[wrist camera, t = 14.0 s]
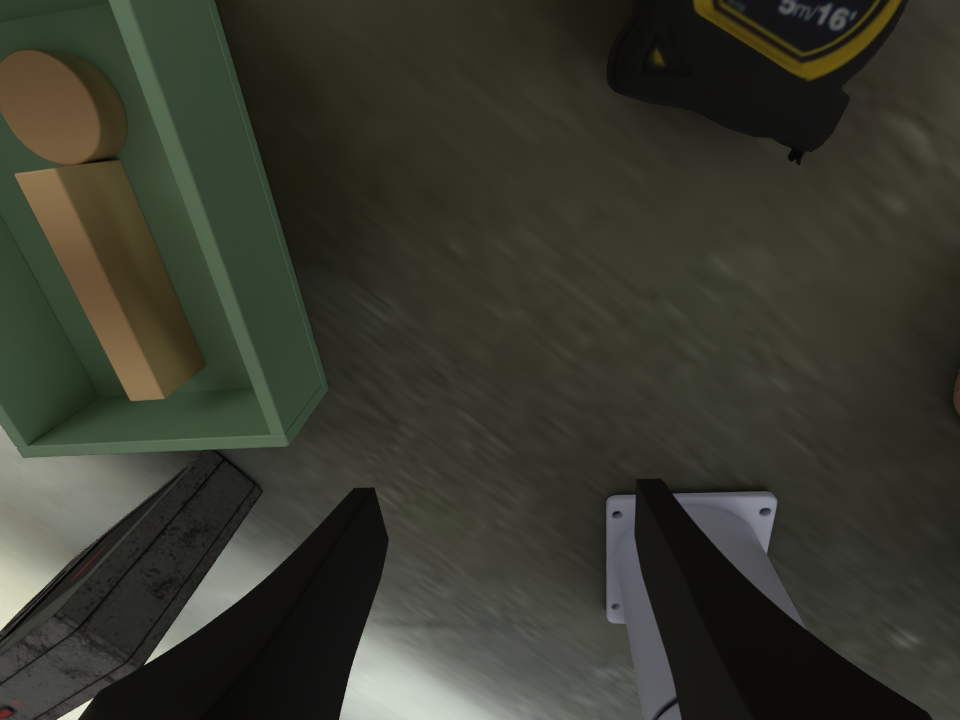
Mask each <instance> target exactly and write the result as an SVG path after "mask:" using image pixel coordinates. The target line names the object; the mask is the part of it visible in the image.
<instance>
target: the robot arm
mask: <svg viewBox="0 0 960 720" xmlns="http://www.w3.org/2000/svg"><path fill="white" fill-rule="evenodd" d="M776 507H777V499H776V498H775V496H774V495H773V493H771V492H768V491H751V492H714V493H677V494H672V492H671V491H670V490H669V488H668V487H667V485H666V484H665V483H664V482H663V481H662V480H661V479H636V495H614V496H611V497H609V498H608V499H607V502H606V614H607V619H608V620H609V621H610V622H612V623H626V627H627V632H628V637H629V643H630V648H631V653H632V659H633V664H634V669H635V675H636V680H637V685H638V691H639V696H640V701H641V707H642V712H643V717H644V720H933V719H932V718H931V716H930V715H929V714H928V712H926V711H925V710H923V709H921V708H920V707H918V706H917V705H915V704H913V703H912V702H910V701H909V700H907V699H906V698H904V697H902V696H901V695H899V694H898V693H896V692H894V691H893V690H891V689H890V688H888V687H887V686H885V685H883V684H882V683H880V682H879V681H877V680H875V679H874V678H872V677H871V676H869V675H868V674H866V673H865V672H863V671H862V670H860V669H859V668H858V667H856V666H855V665H853V664H852V663H850V662H849V661H848V660H846V659H845V658H843V657H842V656H840V655H839V654H838V653H836V652H835V651H833V650H832V649H831V648H829V647H828V646H827V645H826V644H824V643H823V642H822V641H820V640H819V639H818V638H816V637H815V636H814V635H813V634H811V633H810V632H809V631H807V630H806V628H805V626H804V624H803V622H802V620H801V619H800V617H799V615H798V613H797V611H796V609H795V607H794V605H793V603H792V602H791V600H790V598H789V596H788V594H787V592H786V590H785V588H784V586H783V585H782V583H781V581H780V579H779V577H778V575H777V573H776V571H775V569H774V568H773V566H772V564H771V562H770V560H769V558H768V556H767V551H768V546H769V541H770V536H771V531H772V526H773V521H774V517H775V512H776ZM763 508H765V509H764V510H761V509H763ZM616 511H620V512H619V513H614V512H616ZM388 541H389V539H388V535H387V532H386V528H385V525H384V521H383V517H382V514H381V510H380V506H379V503H378V499H377V495H376V492H375V488H354V489H353V490H352V491H351V492H350V493H349V494H348V495H347V496H346V497H345V498H344V499H343V500H342V501H341V502H340V503H339V505H338V506H337V507H336V508H335V509H334V510H333V511H332V512H331V513H330V514H329V515H328V517H327V518H326V519H325V520H324V521H323V522H322V523H321V524H320V525H319V526H318V527H317V528H316V529H315V530H314V531H313V533H312V534H311V535H310V536H309V537H308V538H307V539H306V540H305V541H304V542H303V543H302V544H301V545H300V546H299V547H298V548H297V549H296V550H295V551H294V552H293V553H292V554H291V555H290V556H289V557H288V558H287V559H286V560H285V561H284V562H283V563H282V564H280V565H279V566H278V567H277V568H276V569H275V570H274V571H273V572H272V573H271V574H270V575H269V576H268V577H266V578H265V579H264V580H263V581H262V582H261V583H260V584H258V585H257V586H256V587H255V588H254V589H252V590H251V591H250V592H249V593H248V594H246V595H245V596H244V597H243V598H242V599H240V600H239V601H238V602H237V603H235V604H234V605H233V606H231V607H230V608H229V609H227V610H226V611H225V612H223V613H222V614H220V615H219V616H218V617H216V618H215V619H214V620H212V621H211V622H210V623H208V624H207V625H206V626H204V627H203V628H202V629H200V630H199V631H197V632H196V633H194V634H193V635H191V636H190V637H188V638H187V639H185V640H184V641H182V642H181V643H179V644H178V645H176V646H175V647H173V648H171V649H170V650H168V651H167V652H165V653H164V654H162V655H160V656H159V657H157V658H156V659H154V660H152V661H151V662H149V663H147V664H146V665H144V666H142V667H140V668H139V669H137V670H135V671H133V672H132V673H130V674H128V675H126V676H125V677H123V678H121V679H119V680H118V681H116V682H114V683H112V684H111V685H109V686H107V687H105V688H103V689H101V690H100V691H99V692H98V693H97V695H96V696H95V697H94V698H93V700H92V701H91V703H90V704H89V705H88V707H87V708H86V709H85V711H84V712H83V713H82V715H81V716H80V718H79V719H78V720H339V717H340V712H341V708H342V704H343V700H344V695H345V691H346V687H347V683H348V678H349V674H350V670H351V667H352V664H353V660H354V657H355V653H356V651H357V648H358V645H359V642H360V639H361V636H362V633H363V630H364V627H365V624H366V621H367V618H368V615H369V612H370V609H371V606H372V603H373V600H374V597H375V594H376V591H377V588H378V585H379V582H380V579H381V576H382V571H383V567H384V562H385V557H386V552H387V546H388Z"/></svg>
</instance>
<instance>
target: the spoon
mask: <svg viewBox="0 0 960 720" xmlns="http://www.w3.org/2000/svg"><path fill="white" fill-rule="evenodd" d="M0 110H1V112H2V115H3V117H4V119H5V120H6V122H7V124H8V125H9V127H10V128H11V130H12V131H13V133H14V134H15V135H16V136H17V138H18V139H19V140H20V141H21V142H22V143H23V144H24V145H25V146H26V147H28V148H29V149H30V150H31V151H33V152H34V153H35V154H37V155H39V156H40V157H42V158H44V159H46V160H48V161H51V162H53V163H56V164H61V165H68V166H65V167H58V168H50V169H43V170H35V171H28V172H20V173H16V174H15V177H16V179H17V181H18V183H19V185H20V187H21V189H22V191H23V193H24V195H25V197H26V199H27V201H28V203H29V204H30V206H31V208H32V210H33V212H34V214H35V216H36V218H37V220H38V222H39V224H40V226H41V228H42V230H43V232H44V234H45V236H46V238H47V240H48V241H49V243H50V245H51V247H52V249H53V251H54V253H55V255H56V257H57V259H58V261H59V263H60V265H61V267H62V269H63V271H64V273H65V275H66V277H67V278H68V280H69V282H70V284H71V286H72V288H73V290H74V292H75V294H76V296H77V298H78V300H79V302H80V304H81V306H82V308H83V310H84V312H85V314H86V315H87V317H88V319H89V321H90V323H91V325H92V327H93V329H94V331H95V333H96V335H97V337H98V339H99V341H100V343H101V345H102V347H103V349H104V351H105V352H106V354H107V356H108V358H109V360H110V362H111V364H112V366H113V368H114V370H115V372H116V374H117V376H118V378H119V380H120V382H121V384H122V386H123V388H124V390H125V391H126V393H127V395H128V397H129V399H130V401H142V400H158V399H165V398H166V397H168V396H169V395H170V394H171V393H173V392H174V391H175V390H176V389H177V388H179V387H180V386H181V385H182V384H184V383H185V382H186V381H187V380H189V379H190V378H191V377H192V376H194V375H195V374H196V373H197V372H199V371H200V370H201V369H202V368H203V367H205V366H206V365H205V362H204V360H203V357H202V355H201V353H200V350H199V348H198V345H197V343H196V341H195V338H194V336H193V333H192V331H191V329H190V326H189V324H188V321H187V319H186V317H185V314H184V312H183V309H182V307H181V304H180V302H179V300H178V297H177V295H176V292H175V290H174V288H173V285H172V283H171V280H170V278H169V276H168V273H167V271H166V268H165V266H164V264H163V261H162V259H161V256H160V254H159V252H158V249H157V247H156V244H155V242H154V240H153V237H152V235H151V232H150V230H149V228H148V225H147V223H146V220H145V218H144V216H143V213H142V211H141V208H140V206H139V204H138V201H137V199H136V196H135V194H134V192H133V189H132V187H131V184H130V182H129V180H128V177H127V175H126V172H125V170H124V168H123V165H122V163H121V161H120V160H111V161H106V160H109V159H111V158H113V157H114V156H115V155H117V154H118V153H119V151H120V150H121V149H122V147H123V145H124V143H125V140H126V136H127V118H126V113H125V109H124V106H123V104H122V101H121V99H120V97H119V95H118V93H117V91H116V90H115V88H114V87H113V85H112V84H111V82H110V81H109V80H108V79H107V78H106V76H105V75H104V74H103V73H102V72H101V71H100V70H98V69H97V68H96V67H95V66H94V65H92V64H91V63H89V62H88V61H86V60H84V59H82V58H80V57H78V56H76V55H73V54H69V53H64V52H55V51H47V50H38V49H20V50H16V51H14V52H12V53H10V54H8V55H7V56H6V57H5V58H4V59H3V60H2V61H1V63H0ZM102 161H103V162H102ZM70 165H73V166H70Z"/></svg>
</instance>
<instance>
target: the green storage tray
mask: <svg viewBox="0 0 960 720" xmlns="http://www.w3.org/2000/svg"><path fill="white" fill-rule="evenodd" d="M20 49H38V50H47V51H55V52H64V53H69V54H73V55H76V56H78V57H80V58H82V59H84V60H86V61H88V62H89V63H91V64H92V65H94V66H95V67H96V68H97V69H98V70H100V71H101V72H102V73H103V74H104V75H105V76H106V78H107V79H108V80H109V81H110V82H111V84H112V85H113V87H114V88H115V90H116V91H117V93H118V95H119V97H120V99H121V101H122V104H123V106H124V109H125V113H126V118H127V136H126V140H125V143H124V145H123V147H122V149H121V150H120V151H119V153H118V154H117V155H115V156H114V157H113V158H111V159H109V160H106V161H111V160H120V161H121V163H122V165H123V168H124V170H125V172H126V175H127V177H128V180H129V182H130V184H131V187H132V189H133V192H134V194H135V196H136V199H137V201H138V204H139V206H140V208H141V211H142V213H143V216H144V218H145V220H146V223H147V225H148V228H149V230H150V232H151V235H152V237H153V240H154V242H155V244H156V247H157V249H158V252H159V254H160V256H161V259H162V261H163V264H164V266H165V268H166V271H167V273H168V276H169V278H170V280H171V283H172V285H173V288H174V290H175V292H176V295H177V297H178V300H179V302H180V304H181V307H182V309H183V312H184V314H185V317H186V319H187V321H188V324H189V326H190V329H191V331H192V333H193V336H194V338H195V341H196V343H197V345H198V348H199V350H200V353H201V355H202V357H203V360H204V362H205V365H206V366H205V367H203V368H202V369H201V370H200V371H199V372H197V373H196V374H195V375H194V376H192V377H191V378H190V379H189V380H187V381H186V382H185V383H184V384H182V385H181V386H180V387H179V388H177V389H176V390H175V391H174V392H173V393H171V394H170V395H169V396H168V397H166V398H165V399H158V400H142V401H130V399H129V397H128V395H127V393H126V391H125V390H124V388H123V386H122V384H121V382H120V380H119V378H118V376H117V374H116V372H115V370H114V368H113V366H112V364H111V362H110V360H109V358H108V356H107V354H106V352H105V351H104V349H103V347H102V345H101V343H100V341H99V339H98V337H97V335H96V333H95V331H94V329H93V327H92V325H91V323H90V321H89V319H88V317H87V315H86V314H85V312H84V310H83V308H82V306H81V304H80V302H79V300H78V298H77V296H76V294H75V292H74V290H73V288H72V286H71V284H70V282H69V280H68V278H67V277H66V275H65V273H64V271H63V269H62V267H61V265H60V263H59V261H58V259H57V257H56V255H55V253H54V251H53V249H52V247H51V245H50V243H49V241H48V240H47V238H46V236H45V234H44V232H43V230H42V228H41V226H40V224H39V222H38V220H37V218H36V216H35V214H34V212H33V210H32V208H31V206H30V204H29V203H28V201H27V199H26V197H25V195H24V193H23V191H22V189H21V187H20V185H19V183H18V181H17V179H16V177H15V174H16V173H20V172H28V171H35V170H43V169H50V168H58V167H65V166H68V165H61V164H56V163H53V162H51V161H48V160H46V159H44V158H42V157H40V156H39V155H37V154H35V153H34V152H33V151H31V150H30V149H29V148H28V147H26V146H25V145H24V144H23V143H22V142H21V141H20V140H19V139H18V138H17V136H16V135H15V134H14V133H13V131H12V130H11V128H10V127H9V125H8V124H7V122H6V120H5V119H4V117H3V115H2V112H1V110H0V424H1V426H2V427H3V429H4V430H5V432H6V433H7V435H8V436H9V438H10V439H11V441H12V442H13V444H14V445H15V446H16V447H17V449H18V451H19V452H20V454H21V455H22V457H24V458H28V457H51V456H74V455H98V454H121V453H144V452H167V451H191V450H214V449H237V448H260V447H284V446H289V445H290V444H291V442H292V441H293V439H294V438H295V437H296V435H297V434H298V432H299V431H300V430H301V428H302V427H303V425H304V424H305V422H306V421H307V420H308V418H309V417H310V415H311V414H312V412H313V411H314V410H315V408H316V407H317V405H318V404H319V402H320V401H321V400H322V398H323V397H324V395H325V394H326V393H327V391H328V390H329V387H328V384H327V380H326V377H325V373H324V370H323V367H322V363H321V360H320V356H319V353H318V350H317V346H316V343H315V339H314V336H313V333H312V329H311V326H310V322H309V319H308V316H307V312H306V309H305V305H304V302H303V299H302V295H301V292H300V288H299V285H298V282H297V278H296V275H295V272H294V268H293V265H292V261H291V258H290V255H289V251H288V248H287V244H286V241H285V238H284V234H283V231H282V227H281V224H280V221H279V217H278V214H277V210H276V207H275V204H274V200H273V197H272V193H271V190H270V187H269V183H268V180H267V176H266V173H265V170H264V166H263V163H262V159H261V156H260V153H259V149H258V146H257V142H256V139H255V136H254V132H253V129H252V125H251V122H250V119H249V115H248V112H247V108H246V105H245V102H244V98H243V95H242V91H241V88H240V85H239V81H238V78H237V75H236V71H235V68H234V64H233V61H232V58H231V54H230V51H229V47H228V44H227V41H226V37H225V34H224V30H223V27H222V24H221V20H220V17H219V13H218V10H217V7H216V3H215V0H0V63H1V61H2V60H3V59H4V58H5V57H6V56H7V55H8V54H10V53H12V52H14V51H16V50H20ZM102 162H103V161H102ZM70 166H73V165H70Z"/></svg>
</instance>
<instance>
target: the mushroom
mask: <svg viewBox="0 0 960 720" xmlns="http://www.w3.org/2000/svg"><path fill="white" fill-rule="evenodd" d="M953 400H954V407H955V408H956V410H957V412H958V414H959V416H960V369H959V373H958V377H957V379H956V383H955V387H954V396H953Z"/></svg>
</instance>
